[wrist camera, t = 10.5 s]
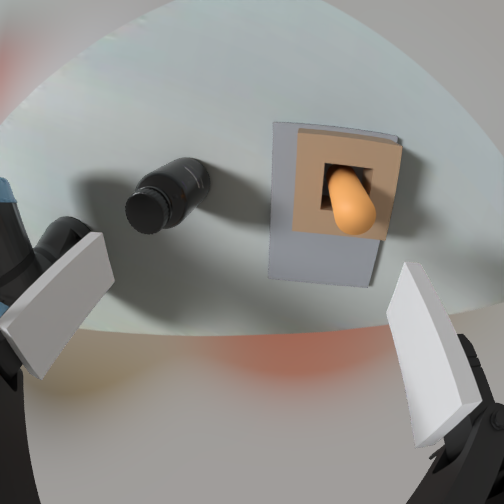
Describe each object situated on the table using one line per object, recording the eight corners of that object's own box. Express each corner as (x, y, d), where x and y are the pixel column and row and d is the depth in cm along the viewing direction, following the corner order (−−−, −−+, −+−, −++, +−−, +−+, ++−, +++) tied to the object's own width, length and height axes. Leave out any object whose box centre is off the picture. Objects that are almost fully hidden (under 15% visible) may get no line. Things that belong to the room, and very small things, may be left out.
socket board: (268, 274, 43) (263, 300, 38) (273, 121, 32) (267, 126, 27) (366, 283, 41) (372, 310, 36) (395, 135, 30) (411, 143, 24)
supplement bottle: (218, 166, 36) (181, 197, 26) (203, 210, 40) (167, 254, 29) (171, 149, 36) (121, 174, 26) (160, 193, 39) (114, 230, 29)
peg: (324, 189, 34) (331, 232, 24) (327, 160, 32) (337, 192, 22) (352, 192, 33) (371, 237, 23) (356, 164, 32) (379, 198, 21)
